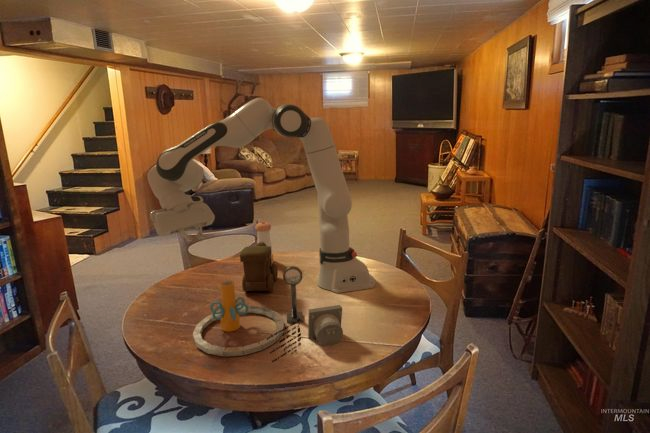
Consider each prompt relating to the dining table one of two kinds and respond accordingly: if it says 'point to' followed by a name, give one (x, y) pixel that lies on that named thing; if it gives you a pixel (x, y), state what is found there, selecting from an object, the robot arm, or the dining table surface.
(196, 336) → the ring
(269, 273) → the brown backpack
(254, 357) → the dining table surface
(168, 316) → the dining table surface
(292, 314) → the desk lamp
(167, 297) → the dining table surface
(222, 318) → the orange vase with loops
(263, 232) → the salt shaker
